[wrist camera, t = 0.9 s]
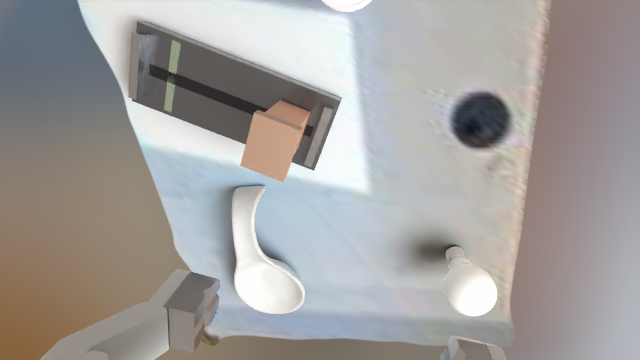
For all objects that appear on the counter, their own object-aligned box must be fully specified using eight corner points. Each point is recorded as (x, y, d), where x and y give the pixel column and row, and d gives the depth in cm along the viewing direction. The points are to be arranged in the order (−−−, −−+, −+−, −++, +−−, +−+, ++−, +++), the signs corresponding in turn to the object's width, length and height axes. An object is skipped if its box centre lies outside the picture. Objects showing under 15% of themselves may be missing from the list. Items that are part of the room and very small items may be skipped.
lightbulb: (451, 226, 45) (474, 280, 36) (485, 247, 46) (517, 306, 36) (423, 254, 48) (437, 311, 38) (456, 273, 49) (478, 335, 39)
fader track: (341, 97, 40) (339, 103, 37) (316, 164, 44) (312, 175, 41) (147, 21, 39) (128, 21, 36) (141, 97, 43) (124, 103, 40)
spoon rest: (313, 299, 56) (306, 334, 50) (252, 300, 58) (237, 333, 52) (286, 181, 46) (273, 205, 40) (214, 187, 49) (191, 211, 42)
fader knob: (314, 109, 38) (300, 130, 30) (300, 151, 41) (283, 181, 33) (278, 94, 38) (253, 112, 30) (266, 138, 41) (240, 165, 33)
